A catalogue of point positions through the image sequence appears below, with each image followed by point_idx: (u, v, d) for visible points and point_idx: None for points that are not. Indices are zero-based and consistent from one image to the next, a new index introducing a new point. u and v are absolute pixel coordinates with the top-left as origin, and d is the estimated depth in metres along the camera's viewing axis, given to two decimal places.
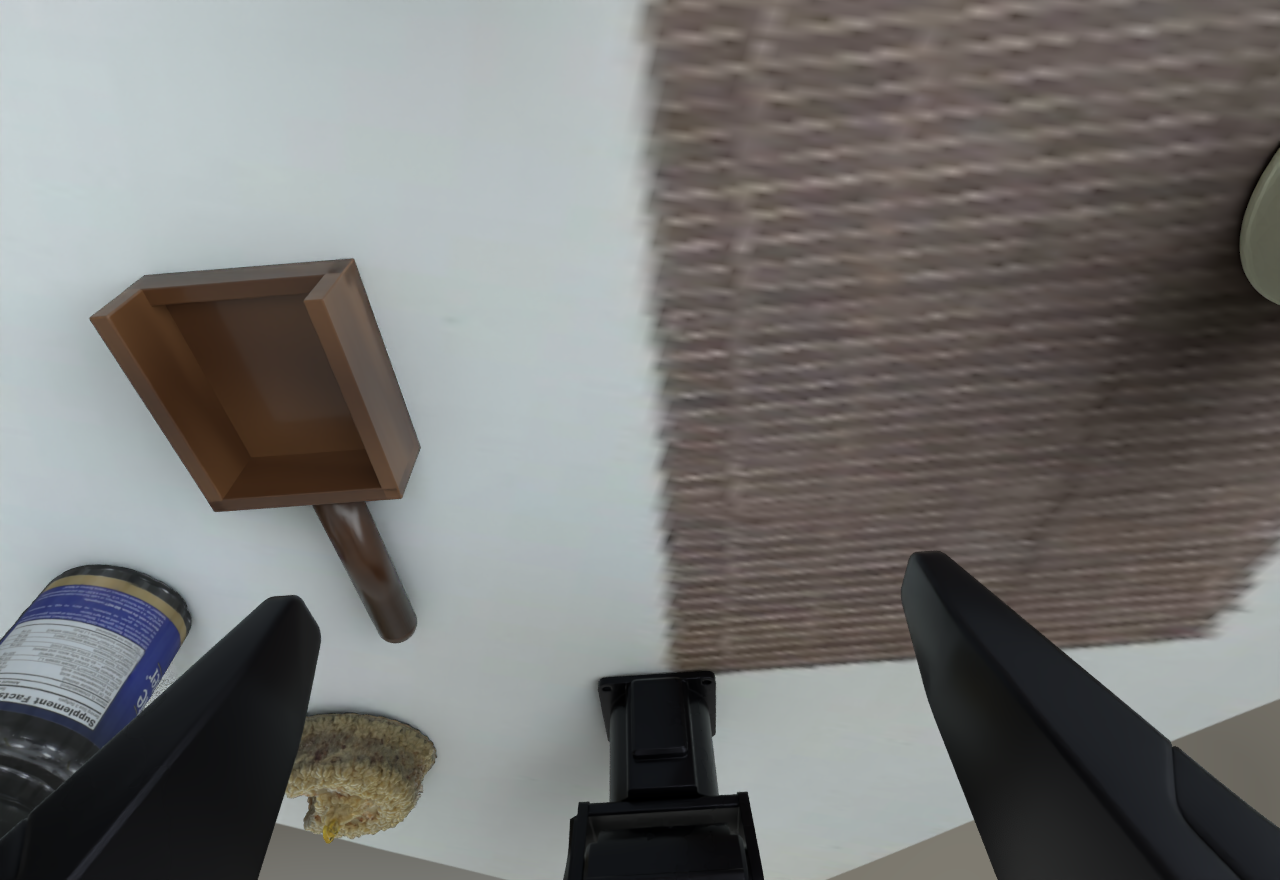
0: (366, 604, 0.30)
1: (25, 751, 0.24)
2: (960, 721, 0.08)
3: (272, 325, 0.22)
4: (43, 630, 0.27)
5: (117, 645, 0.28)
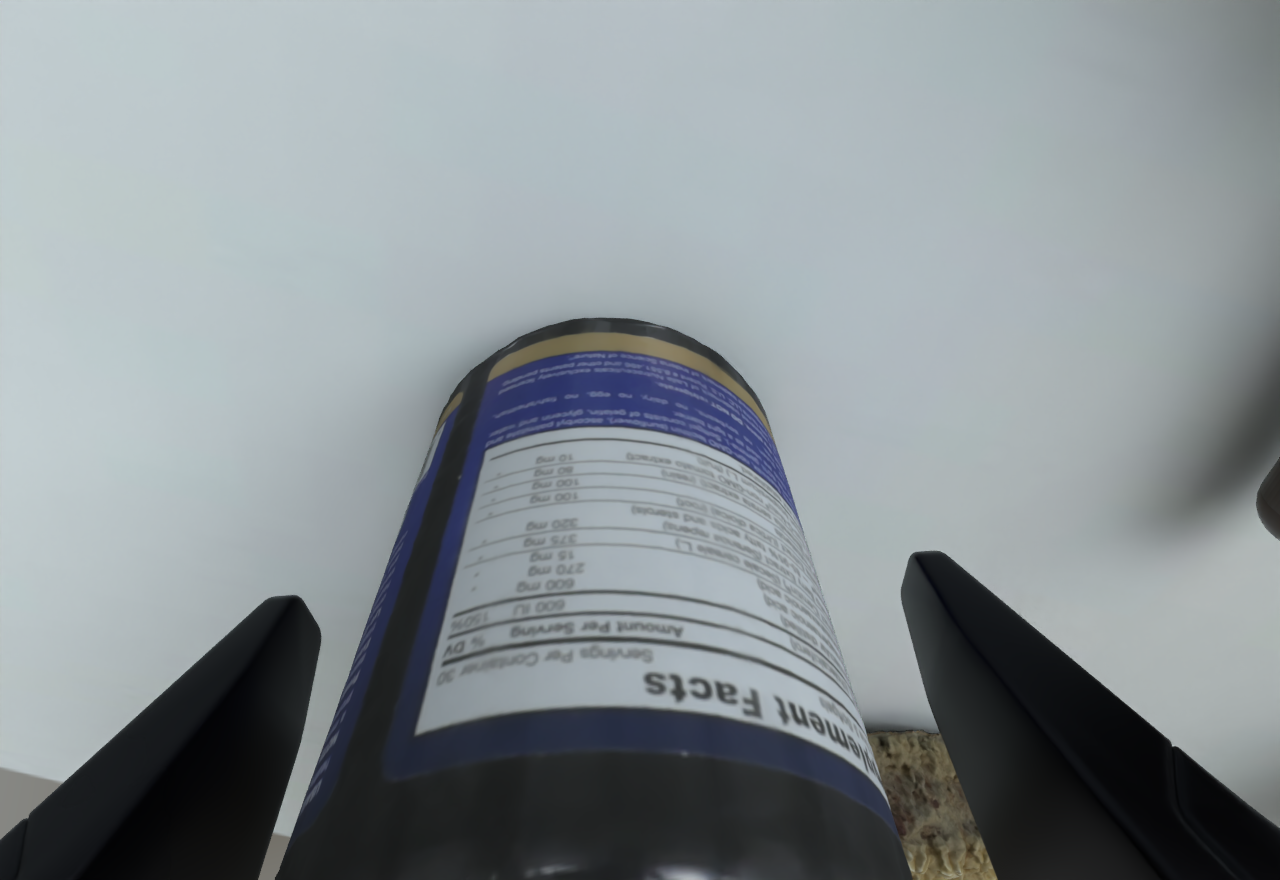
0: None
1: None
2: (960, 721, 0.08)
3: None
4: (615, 456, 0.08)
5: (794, 526, 0.09)
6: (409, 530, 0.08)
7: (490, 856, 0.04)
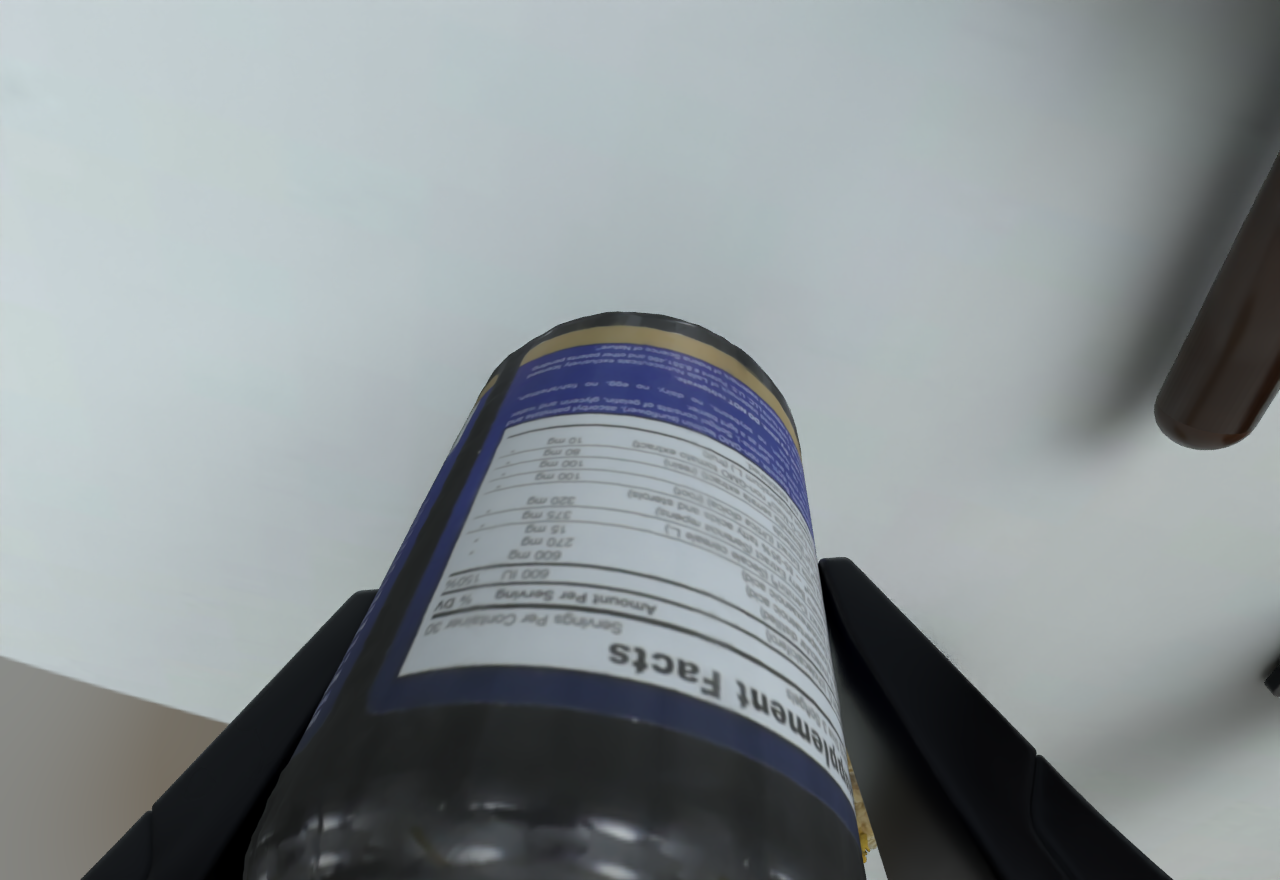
0: (1274, 326, 0.12)
1: None
2: (856, 728, 0.08)
3: None
4: (622, 443, 0.08)
5: (798, 527, 0.09)
6: (430, 497, 0.09)
7: (442, 786, 0.05)
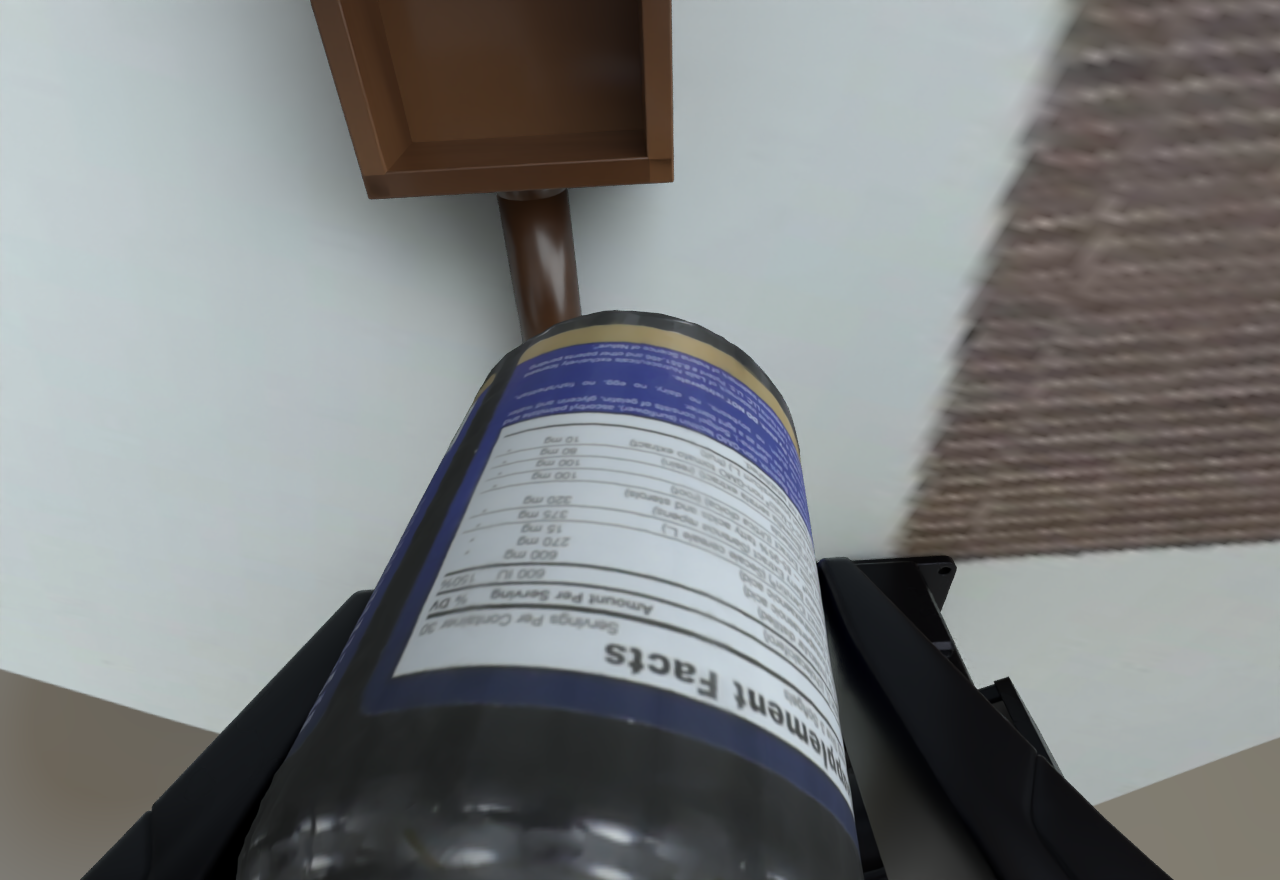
0: None
1: None
2: (856, 728, 0.08)
3: None
4: (619, 442, 0.08)
5: (795, 527, 0.09)
6: (426, 497, 0.09)
7: (436, 787, 0.05)
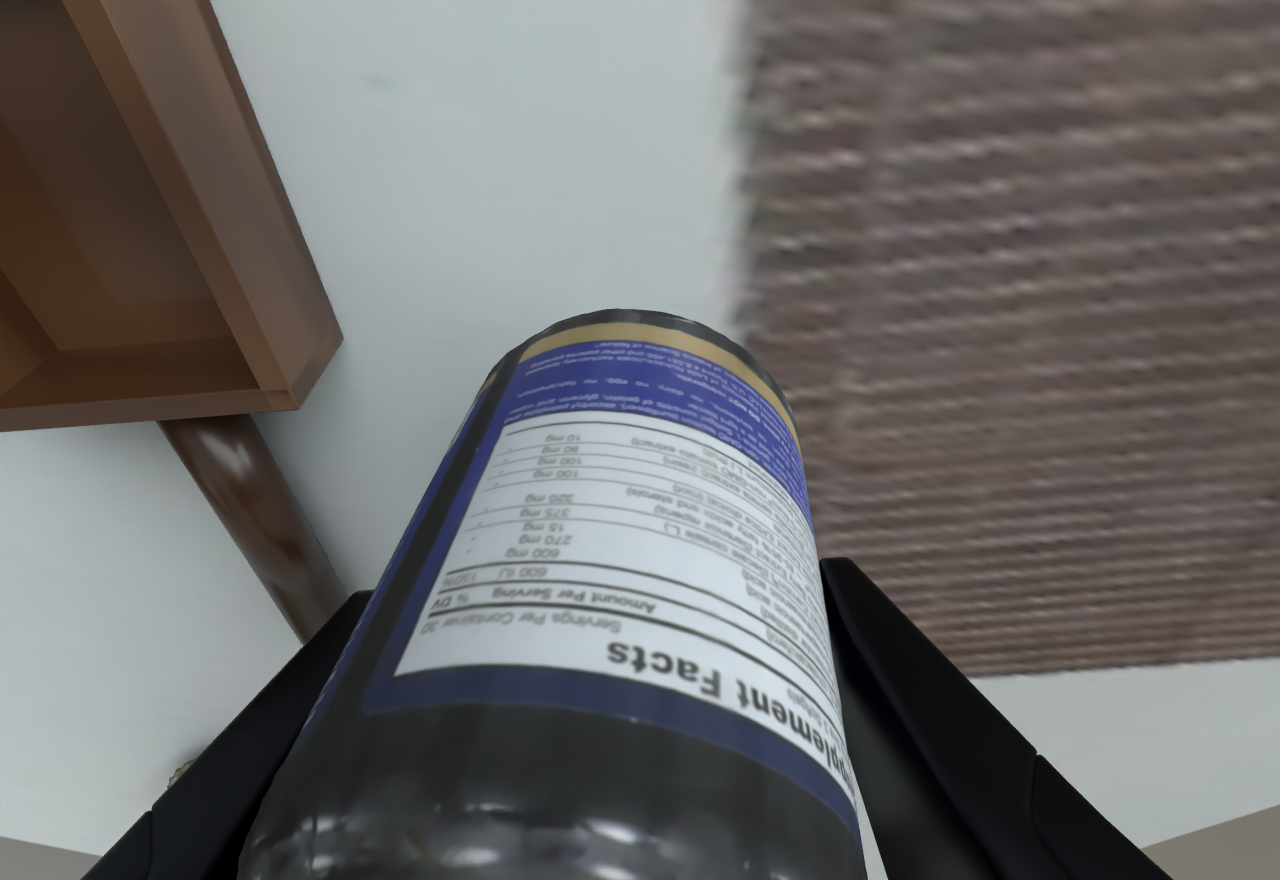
0: (272, 595, 0.19)
1: None
2: (856, 728, 0.08)
3: (42, 75, 0.12)
4: (621, 440, 0.08)
5: (798, 525, 0.09)
6: (427, 495, 0.09)
7: (437, 788, 0.05)
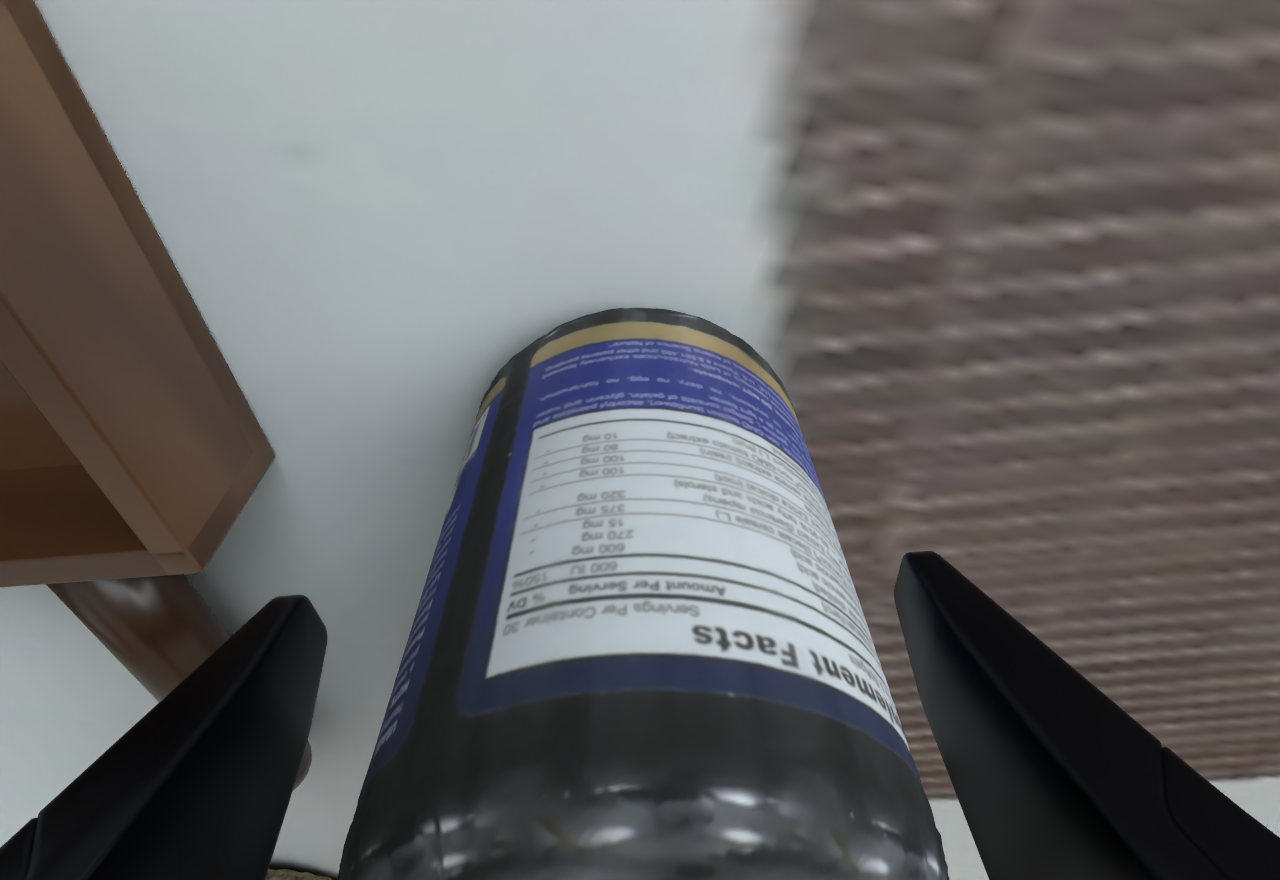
0: None
1: None
2: (952, 722, 0.08)
3: None
4: (656, 435, 0.08)
5: (820, 504, 0.09)
6: (462, 503, 0.09)
7: (562, 775, 0.05)
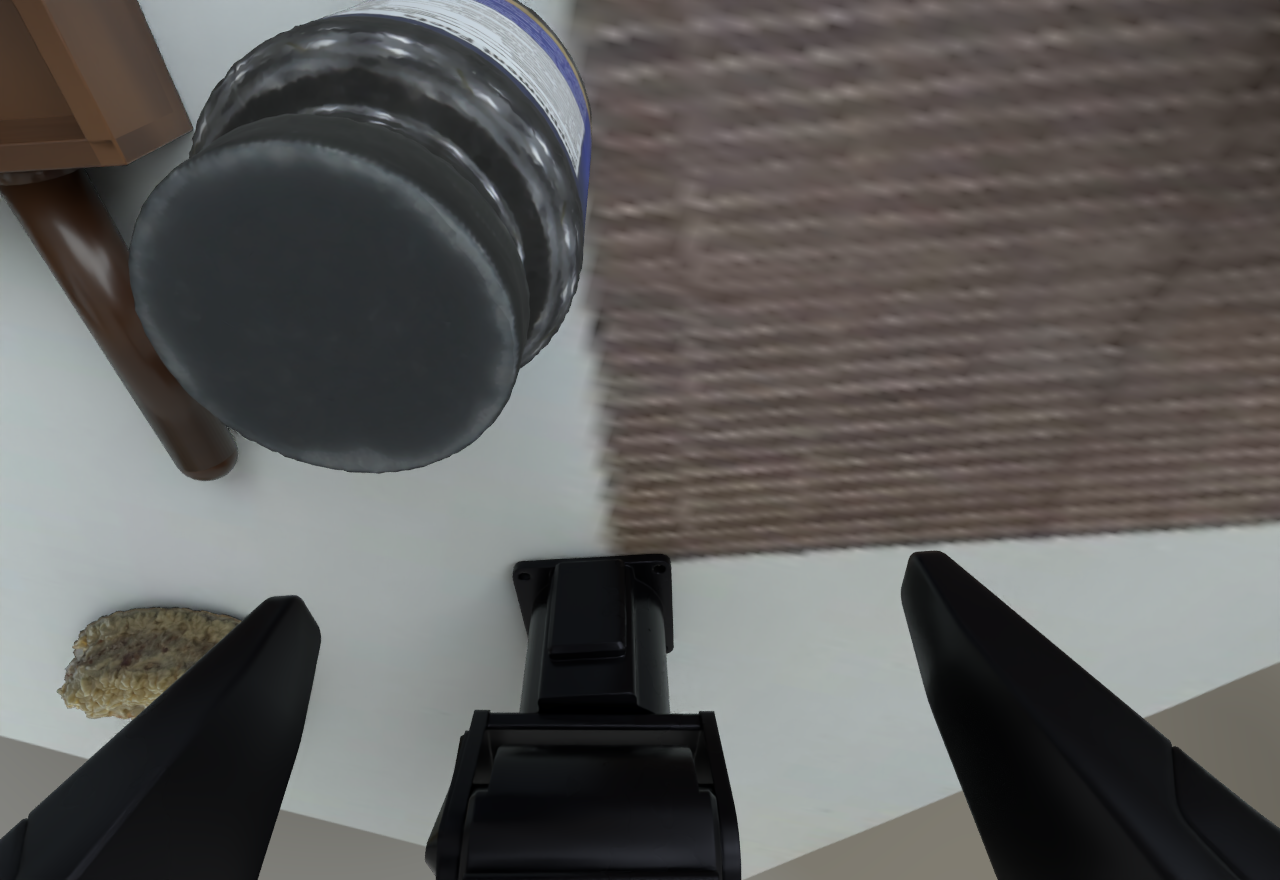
0: (140, 407, 0.20)
1: (501, 120, 0.09)
2: (960, 721, 0.08)
3: None
4: None
5: (559, 76, 0.13)
6: None
7: (302, 30, 0.09)
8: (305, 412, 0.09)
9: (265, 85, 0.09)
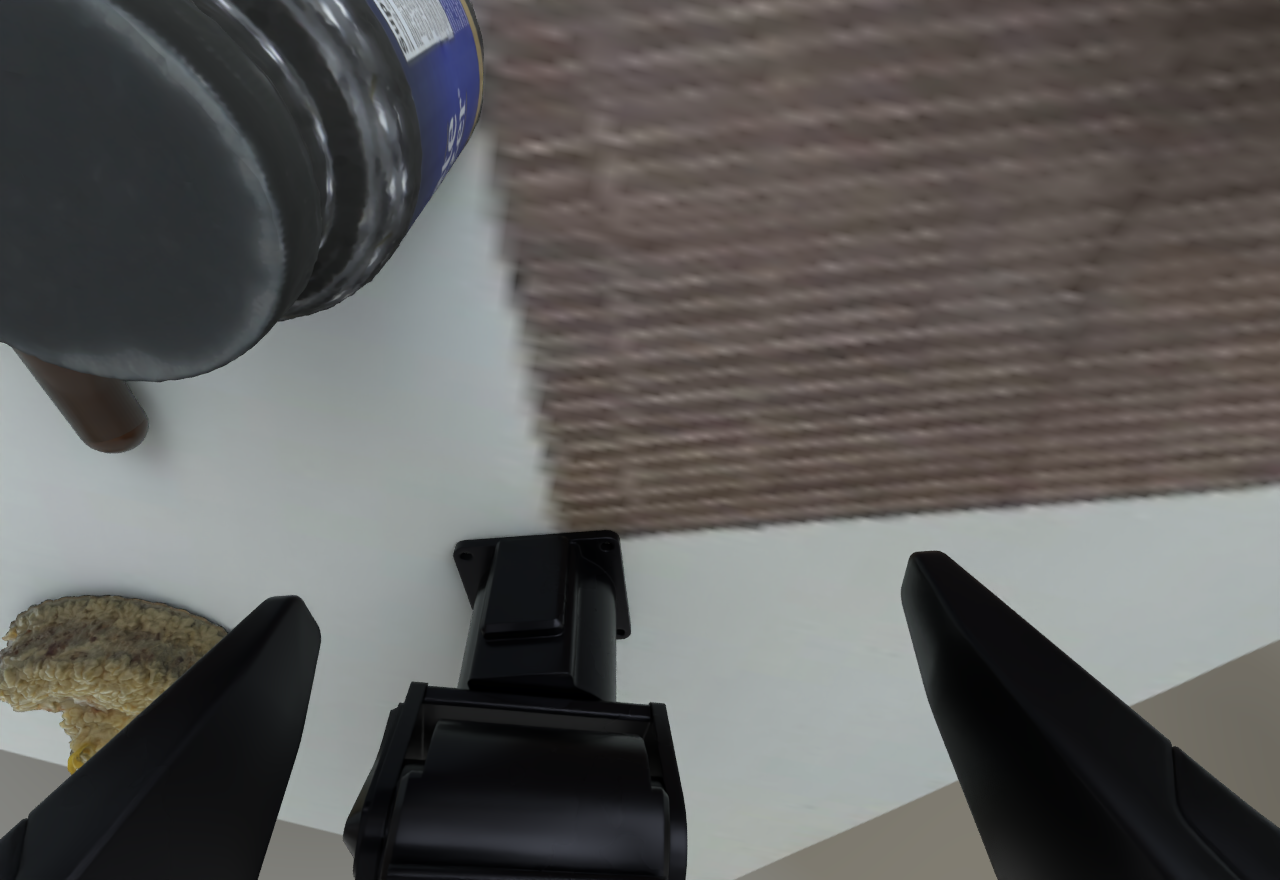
0: (31, 371, 0.19)
1: None
2: (960, 721, 0.08)
3: None
4: None
5: None
6: None
7: None
8: (51, 304, 0.08)
9: None
